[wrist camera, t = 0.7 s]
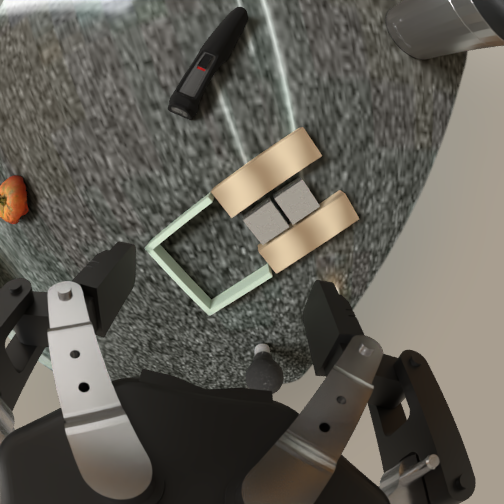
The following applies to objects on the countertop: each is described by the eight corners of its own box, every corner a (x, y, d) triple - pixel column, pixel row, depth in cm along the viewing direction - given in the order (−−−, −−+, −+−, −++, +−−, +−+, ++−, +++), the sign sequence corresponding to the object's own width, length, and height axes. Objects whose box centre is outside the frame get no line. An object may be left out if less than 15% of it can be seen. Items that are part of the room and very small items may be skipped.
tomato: (31, 178, 29) (3, 217, 26) (46, 202, 35) (22, 237, 32) (7, 164, 29) (-18, 199, 26) (22, 187, 35) (0, 219, 32)
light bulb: (241, 337, 43) (241, 384, 34) (275, 330, 43) (282, 377, 34) (249, 359, 46) (251, 405, 36) (281, 353, 45) (288, 398, 36)
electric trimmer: (256, 22, 24) (257, 12, 22) (193, 121, 30) (188, 120, 27) (229, 11, 24) (228, 1, 21) (167, 109, 29) (159, 107, 26)
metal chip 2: (298, 176, 33) (302, 179, 31) (315, 201, 34) (320, 206, 32) (272, 193, 34) (274, 198, 32) (289, 218, 35) (292, 224, 33)
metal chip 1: (268, 196, 34) (270, 201, 32) (286, 220, 35) (289, 227, 33) (243, 214, 35) (243, 220, 33) (261, 237, 36) (262, 245, 34)
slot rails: (299, 127, 30) (303, 127, 28) (353, 214, 35) (359, 219, 33) (212, 188, 33) (210, 192, 31) (274, 266, 38) (276, 273, 36)
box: (210, 192, 33) (208, 196, 31) (270, 267, 38) (272, 276, 36) (150, 240, 36) (144, 248, 33) (210, 305, 40) (209, 315, 38)
